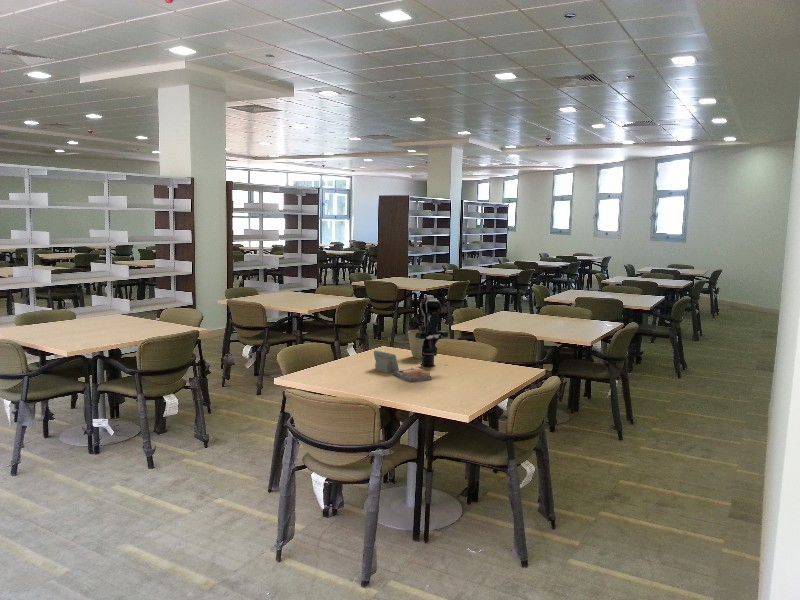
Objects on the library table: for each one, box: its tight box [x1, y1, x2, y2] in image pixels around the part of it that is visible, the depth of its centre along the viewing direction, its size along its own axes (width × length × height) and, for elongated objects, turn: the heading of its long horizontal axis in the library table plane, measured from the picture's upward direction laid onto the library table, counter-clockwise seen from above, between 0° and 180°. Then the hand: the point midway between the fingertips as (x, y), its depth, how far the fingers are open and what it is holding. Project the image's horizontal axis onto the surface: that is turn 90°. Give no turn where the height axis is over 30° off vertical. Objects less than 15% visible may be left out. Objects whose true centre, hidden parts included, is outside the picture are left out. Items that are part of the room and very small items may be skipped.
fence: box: [392, 368, 432, 383], centre depth 342 cm, size 13×18×2 cm
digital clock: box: [373, 350, 400, 374], centre depth 356 cm, size 16×9×11 cm, turn 37°
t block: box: [402, 366, 431, 377], centre depth 343 cm, size 12×13×4 cm
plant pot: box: [407, 329, 425, 359], centre depth 393 cm, size 15×15×16 cm
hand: (431, 349), depth 356 cm, fingers closed
